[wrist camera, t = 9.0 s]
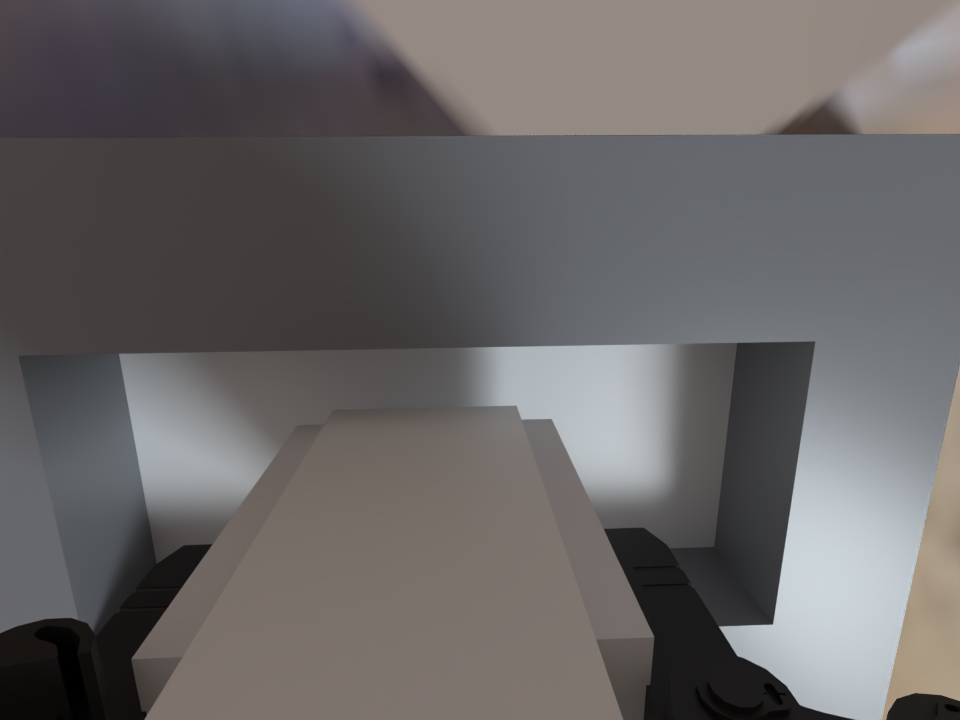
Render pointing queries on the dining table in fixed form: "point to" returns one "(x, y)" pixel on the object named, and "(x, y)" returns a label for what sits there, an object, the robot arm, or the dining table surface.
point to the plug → (401, 587)
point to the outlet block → (496, 350)
